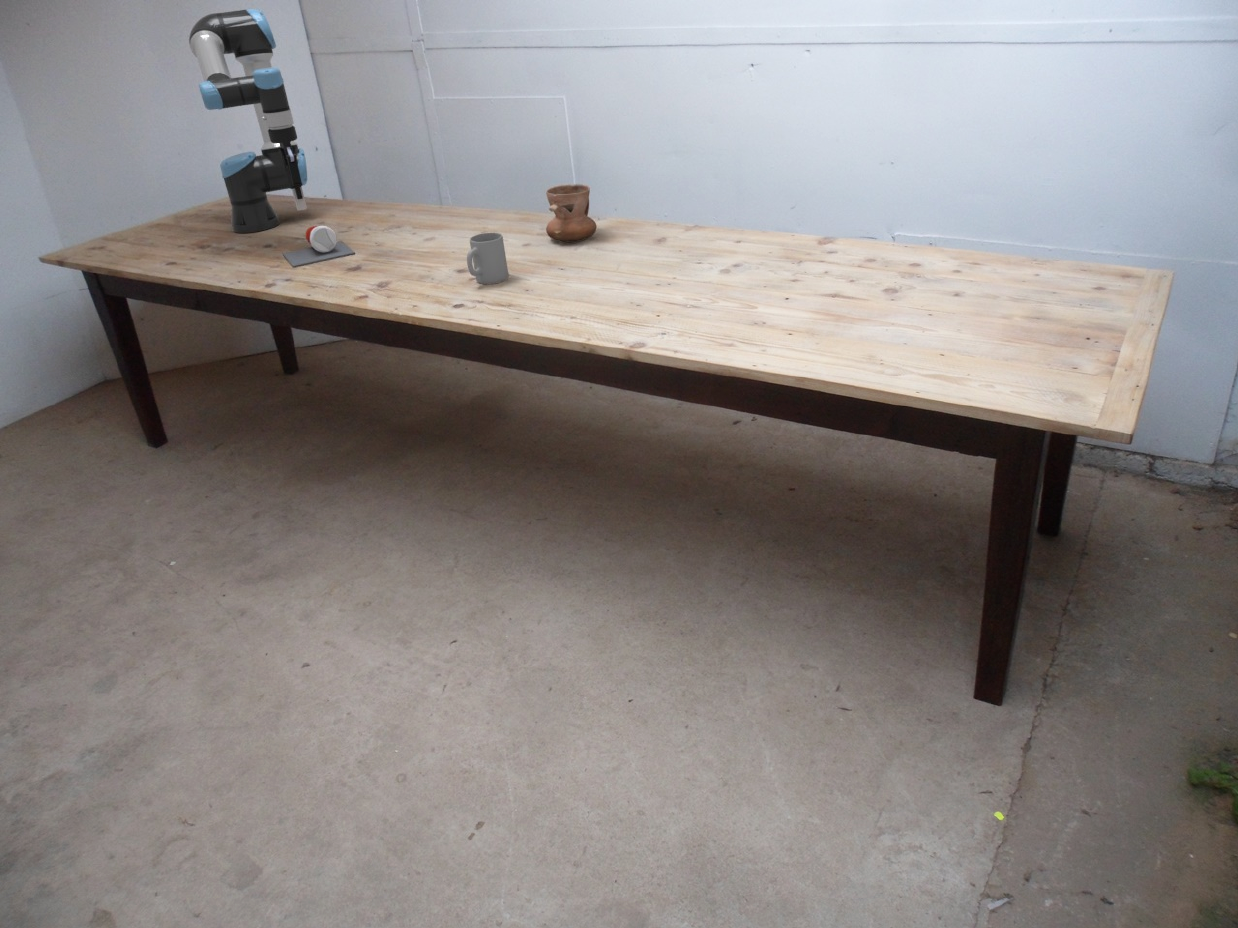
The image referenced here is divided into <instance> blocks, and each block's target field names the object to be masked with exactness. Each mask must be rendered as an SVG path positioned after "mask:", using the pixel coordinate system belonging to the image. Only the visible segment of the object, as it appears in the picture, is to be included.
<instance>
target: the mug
mask: <svg viewBox="0 0 1238 928" xmlns="http://www.w3.org/2000/svg"><path fill="white" fill-rule="evenodd" d="M469 244H470V245H469V246H470V250H469V251H468V253H467V255H466V264H467V265H466V266H467V269H468V271H469V274H470V275H471V276H473V277H475V281H476V282H477V283H478V284H482V285H495V284H499V283H503V282H505V281H506V280H508V279H509V269H508V262H507V257H506V251H505V244H504V237H503V235H502V234H501V233H499V232H483V233H479V234H475V235H474V236H472V237H470V238H469Z"/></svg>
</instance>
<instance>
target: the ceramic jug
mask: <svg viewBox="0 0 1238 928" xmlns="http://www.w3.org/2000/svg"><path fill="white" fill-rule="evenodd" d="M590 193H591V192H590V187H589V186H588V185H587V184H586V185H585V184H580V183H567V184H560V185H556V186H552V187H549V188H547V189H546V191H545V194H546V198H547V201H548V203H549V206H550V207H549V208H548V210H549V211H550V212H553V214H554V215H555V216H554V217H553V218H552V219H551V220H550V221H549V222H548V223H547V225H546V228H545V231H546V234H547V236H548V237H549V238H550V239H552V240H554V241H556V242H560V243H561V242H562V243H572V242H573V243H575V242H580V241H583V240H586V239H589V238H590V237H591V236H593V235H594V234H595V233H596V230H597V223H596V221H595V220H594V219H593V218H591V217H590V216H589V211H590V210H589V209H590Z"/></svg>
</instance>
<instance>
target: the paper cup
mask: <svg viewBox="0 0 1238 928" xmlns="http://www.w3.org/2000/svg"><path fill="white" fill-rule="evenodd" d="M304 235H305V239H306V241H307V242H308V243H309V244H310V245H311V247H313V248H314V249H315V250H317V251H319V252H323V253H325V252H329V251H331V250H332V249H333V248H334V247H335V245H336V242H338V241H337V239H338V238H337V235H336V232H335V231H334V230H333V229H332V228H330V227H329V226H326V225H320V226H319V225H318V226H317V225H316V226H314V225H312V226H309V227H308V228H307V229H306V231H305V234H304Z"/></svg>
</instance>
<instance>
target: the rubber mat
mask: <svg viewBox="0 0 1238 928" xmlns="http://www.w3.org/2000/svg"><path fill="white" fill-rule="evenodd" d="M355 254H356V252H355V251H354V250H353V249H352V248H350V247H349V246H348V245H347V244H346V242H344V241H343V240H341V241H340V240H339V241H337V242H336V245H335V247H334V248H333V249H332V250H331V251H329V252H325V253H323V252H319V251H317V250H315V249H314V248H313V247H312V246H311V247H307V248H302V249H297V250H293V251H292V250H291V251H288V252H284V253H282V255H283V257H284V258H285V259H286V260H287V262H288V263H289V264H290V266H291V267H292V268H297V267H298V266H299V267H303V266H308V265H312V264H316V263H321V262H325V261H331V260H335V259H340V258H343V257H348V256H353V255H355Z"/></svg>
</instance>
